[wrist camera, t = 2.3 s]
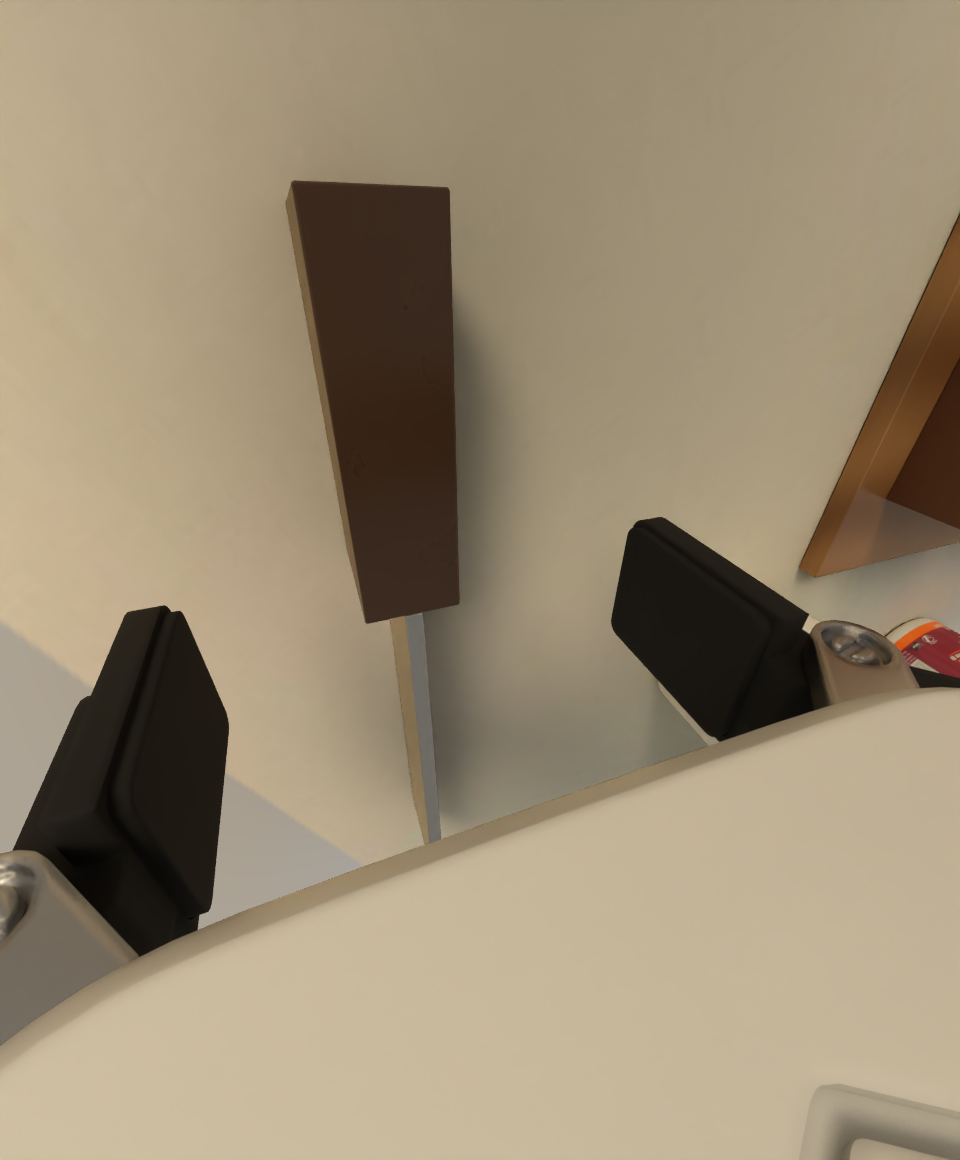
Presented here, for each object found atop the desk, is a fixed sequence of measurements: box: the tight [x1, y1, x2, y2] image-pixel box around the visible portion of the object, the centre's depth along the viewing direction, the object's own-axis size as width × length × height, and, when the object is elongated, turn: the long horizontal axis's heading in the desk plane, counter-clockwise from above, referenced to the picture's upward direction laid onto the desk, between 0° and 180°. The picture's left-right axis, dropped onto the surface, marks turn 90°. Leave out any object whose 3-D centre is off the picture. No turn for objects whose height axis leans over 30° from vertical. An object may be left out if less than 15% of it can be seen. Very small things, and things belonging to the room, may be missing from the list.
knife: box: [286, 181, 460, 845], centre depth 16 cm, size 24×3×4 cm, turn 179°
